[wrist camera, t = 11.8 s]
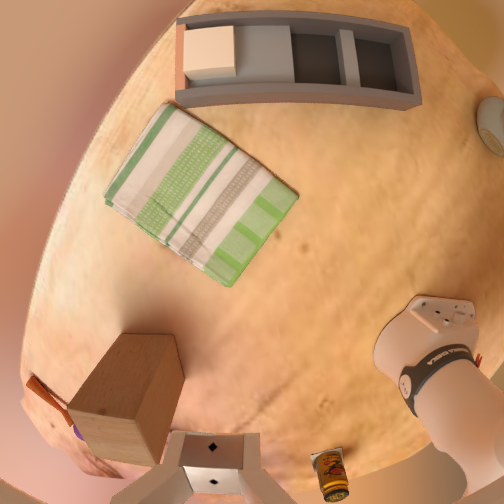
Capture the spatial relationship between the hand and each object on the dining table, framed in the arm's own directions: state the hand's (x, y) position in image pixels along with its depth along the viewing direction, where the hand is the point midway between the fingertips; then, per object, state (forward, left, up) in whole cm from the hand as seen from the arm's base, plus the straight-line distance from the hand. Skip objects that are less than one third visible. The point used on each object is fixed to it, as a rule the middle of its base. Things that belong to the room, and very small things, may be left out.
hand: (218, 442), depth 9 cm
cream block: (+3, -25, -31) cm, 40 cm away
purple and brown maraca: (+44, +36, -35) cm, 66 cm away
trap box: (-9, -25, -34) cm, 43 cm away
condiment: (-16, +52, -34) cm, 64 cm away
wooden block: (+17, +20, -34) cm, 43 cm away
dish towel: (+6, -6, -35) cm, 36 cm away
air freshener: (-44, -19, -34) cm, 59 cm away
